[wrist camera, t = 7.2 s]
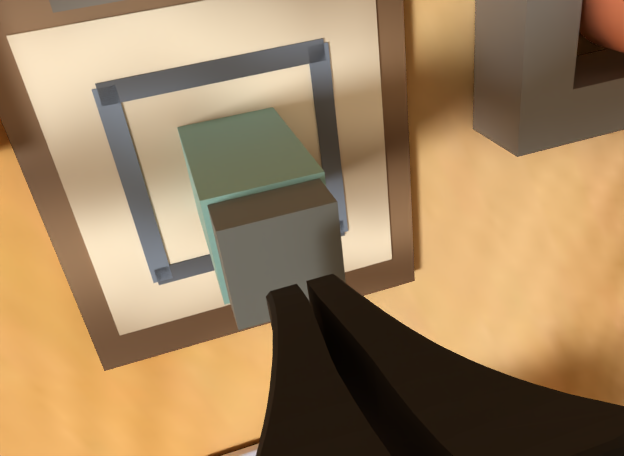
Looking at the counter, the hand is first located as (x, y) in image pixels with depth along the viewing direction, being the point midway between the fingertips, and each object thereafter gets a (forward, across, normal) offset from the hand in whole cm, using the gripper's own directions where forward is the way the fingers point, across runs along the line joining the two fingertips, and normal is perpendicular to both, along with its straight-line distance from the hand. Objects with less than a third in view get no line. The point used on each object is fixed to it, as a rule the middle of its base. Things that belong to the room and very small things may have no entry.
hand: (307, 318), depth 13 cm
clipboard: (+9, 0, 0) cm, 9 cm away
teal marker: (+9, 0, 0) cm, 9 cm away
